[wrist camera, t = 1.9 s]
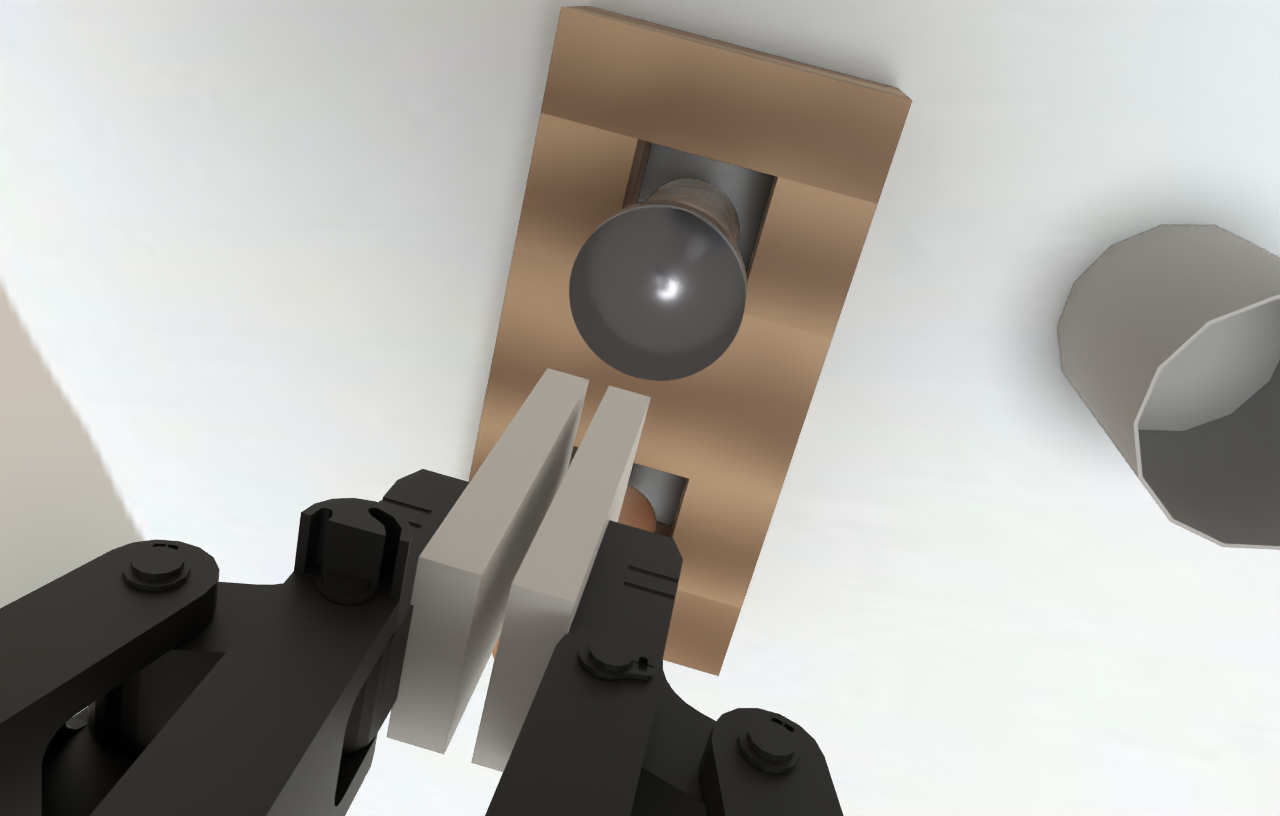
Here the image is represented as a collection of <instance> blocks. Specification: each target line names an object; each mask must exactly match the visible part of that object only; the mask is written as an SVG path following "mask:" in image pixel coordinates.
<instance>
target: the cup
mask: <svg viewBox="0 0 1280 816" xmlns="http://www.w3.org/2000/svg"><path fill="white" fill-rule="evenodd" d="M1057 333H1058V342H1059V350H1060V359H1061V368H1062V372H1063V373H1064V375H1065V376H1066V378H1067V379H1068V380H1069V382H1070V383H1071V385H1072V386H1073V387H1074V389H1075V390H1076V392H1077V393H1078V394H1079V396H1080V397H1081V399H1082V400H1083V401H1084V403H1085V404H1086V406H1087V407H1088V408H1089V410H1090V411H1091V413H1092V414H1093V415H1094V417H1095V418H1096V420H1097V421H1098V422H1099V424H1100V425H1101V427H1102V428H1103V429H1104V431H1105V432H1106V434H1107V435H1108V436H1109V438H1110V439H1111V441H1112V442H1113V443H1114V445H1115V446H1116V448H1117V449H1118V450H1119V452H1120V453H1121V455H1122V456H1123V457H1124V459H1125V460H1126V462H1127V463H1128V464H1129V466H1130V467H1131V469H1132V470H1133V471H1134V473H1135V474H1136V476H1137V477H1138V478H1139V480H1140V481H1141V482H1142V484H1143V485H1144V487H1145V488H1146V489H1147V491H1148V492H1149V493H1150V495H1151V496H1152V497H1153V499H1154V500H1155V501H1156V503H1157V504H1158V506H1159V507H1160V508H1161V510H1162V511H1163V512H1164V514H1165V515H1166V516H1167V518H1168V519H1169V521H1170V522H1172V523H1174V524H1176V525H1178V526H1180V527H1182V528H1184V529H1187V530H1189V531H1191V532H1193V533H1195V534H1197V535H1199V536H1201V537H1203V538H1205V539H1207V540H1209V541H1211V542H1214V543H1216V544H1218V545H1220V546H1222V547H1234V548H1256V549H1277V550H1280V258H1279V257H1277V256H1276V255H1274V254H1272V253H1270V252H1268V251H1266V250H1264V249H1262V248H1261V247H1259V246H1257V245H1255V244H1253V243H1251V242H1249V241H1247V240H1244V239H1242V238H1240V237H1238V236H1236V235H1234V234H1232V233H1230V232H1228V231H1226V230H1224V229H1222V228H1220V227H1218V226H1216V225H1160V226H1157V227H1155V228H1153V229H1150V230H1148V231H1145V232H1143V233H1140V234H1138V235H1136V236H1133V237H1131V238H1128V239H1126V240H1124V241H1121V242H1119V243H1116V244H1114V245H1112V246H1110V247H1109V248H1108V249H1107V250H1106V251H1105V252H1104V253H1103V254H1102V255H1101V256H1100V257H1099V258H1098V259H1097V260H1096V261H1095V262H1094V263H1093V264H1092V265H1091V266H1090V267H1089V268H1088V269H1087V270H1086V271H1085V272H1084V273H1083V274H1082V275H1081V276H1080V277H1079V278H1078V279H1077V280H1076V281H1075V282H1074V284H1073V287H1072V289H1071V292H1070V294H1069V297H1068V300H1067V302H1066V305H1065V307H1064V310H1063V313H1062V315H1061V318H1060V321H1059V323H1058V326H1057Z"/></svg>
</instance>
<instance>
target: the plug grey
mask: <svg viewBox="0 0 1280 816" xmlns="http://www.w3.org/2000/svg"><path fill="white" fill-rule="evenodd" d="M739 235H740V225H739V219H738V215H737V212H736V210H735V208H734V206H733V204H732V202H731V201H730V199H729V198H728V197H727V196H726V195H725V194H724V193H723V192H722V191H721V190H720V189H718V188H717V187H715V186H714V185H712V184H710V183H708V182H705V181H702V180H698V179H690V178H686V179H678V180H673V181H670V182H668V183H666V184H664V185H662V186H660V187H659V188H657V189H656V190H655V191H654V192H653V193H652V194H651V195H650V196H649V197H648V198H647V199H646V201H645V202H640V203H636V204H634V205H631V206H628V207H626V208H624V209H622V210H620V211H618V212H616V213H615V214H613V215H612V216H610V217H609V218H607V219H606V220H605V221H604V222H603V223H602V224H601V225H600V226H599V227H598V228H597V229H596V230H595V231H594V233H593V234H592V235H591V236H590V237H589V238H588V240H587V241H586V242H585V243H584V245H583V246H582V248H581V250H580V251H579V253H578V255H577V257H576V260H575V262H574V265H573V268H572V271H571V276H570V283H569V300H570V308H571V312H572V316H573V319H574V322H575V324H576V327H577V329H578V331H579V333H580V335H581V336H582V338H583V340H584V341H585V342H586V344H587V345H588V347H589V348H590V349H591V350H592V351H593V352H594V353H595V354H596V355H597V356H598V357H599V358H600V359H601V360H603V361H604V362H605V363H606V364H608V365H610V366H611V367H613V368H614V369H616V370H618V371H620V372H622V373H624V374H627V375H630V376H632V377H635V378H640V379H645V380H653V381H669V380H675V379H681V378H684V377H687V376H691V375H693V374H695V373H697V372H700V371H702V370H703V369H705V368H707V367H708V366H710V365H711V364H712V363H714V362H715V361H716V360H717V359H719V358H720V356H721V355H722V354H723V353H724V352H725V351H726V350H727V349H728V347H729V346H730V345H731V343H732V342H733V340H734V338H735V336H736V334H737V333H738V330H739V328H740V325H741V322H742V319H743V314H744V309H745V304H746V297H747V275H746V269H745V265H744V261H743V258H742V255H741V253H740V251H739V249H738V247H737V246H738V241H739Z"/></svg>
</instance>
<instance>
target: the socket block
mask: <svg viewBox="0 0 1280 816" xmlns="http://www.w3.org/2000/svg"><path fill="white" fill-rule="evenodd" d="M911 103H912V100H911V99H910V98H909V97H908V96H907V95H905V94H904V93H903V92H902V91H901V90H900V89H898V88H895V87H891V86H887V85H883V84H880V83H876V82H872V81H868V80H865V79H861V78H857V77H853V76H850V75H846V74H842V73H838V72H835V71H831V70H827V69H823V68H820V67H816V66H812V65H808V64H804V63H801V62H797V61H793V60H789V59H786V58H782V57H778V56H774V55H771V54H767V53H763V52H759V51H756V50H752V49H748V48H744V47H741V46H737V45H733V44H729V43H726V42H722V41H718V40H714V39H710V38H707V37H703V36H699V35H695V34H692V33H688V32H684V31H680V30H677V29H673V28H669V27H665V26H662V25H658V24H654V23H650V22H647V21H643V20H639V19H635V18H632V17H628V16H624V15H620V14H617V13H613V12H609V11H605V10H601V9H598V8H594V7H590V6H583V7H561V11H560V16H559V21H558V26H557V32H556V37H555V42H554V47H553V52H552V57H551V62H550V67H549V73H548V78H547V83H546V88H545V93H544V98H543V103H542V108H541V114H540V119H539V124H538V129H537V134H536V139H535V144H534V149H533V155H532V160H531V165H530V170H529V175H528V180H527V185H526V190H525V195H524V201H523V206H522V211H521V216H520V221H519V226H518V231H517V236H516V242H515V247H514V252H513V257H512V262H511V267H510V272H509V277H508V283H507V288H506V293H505V298H504V303H503V308H502V313H501V318H500V324H499V329H498V334H497V339H496V344H495V349H494V354H493V359H492V364H491V370H490V375H489V380H488V385H487V390H486V395H485V400H484V405H483V411H482V416H481V421H480V426H479V431H478V436H477V441H476V446H475V452H474V457H473V462H472V467H471V472H470V477H469V482H470V481H471V480H472V478H473V477H474V475H475V474H476V472H477V471H478V469H479V468H480V466H481V465H482V464H483V462H484V461H485V459H486V458H487V456H488V455H489V453H490V452H491V450H492V449H493V447H494V446H495V444H496V443H497V442H498V440H499V439H500V437H501V436H502V434H503V433H504V431H505V430H506V428H507V427H508V425H509V424H510V423H511V421H512V420H513V418H514V417H515V415H516V414H517V412H518V411H519V409H520V408H521V406H522V405H523V403H524V402H525V401H526V399H527V398H528V396H529V395H530V393H531V392H532V390H533V389H534V387H535V386H536V384H537V383H538V381H539V380H540V379H541V377H542V376H543V374H544V373H545V371H546V370H547V368H549V369H553V370H556V371H560V372H563V373H567V374H570V375H574V376H577V377H581V378H584V379H588V380H589V383H588V387H587V391H586V395H585V400H584V404H583V408H582V412H581V416H580V421H579V425H578V429H577V433H576V437H575V442H574V446H573V450H572V454H571V458H570V462H569V466H570V464H571V462H572V460H573V458H574V456H575V454H576V452H577V450H578V447H579V446H580V444H581V442H582V440H583V438H584V436H585V433H586V431H587V429H588V427H589V425H590V423H591V421H592V419H593V417H594V415H595V413H596V411H597V409H598V407H599V405H600V403H601V401H602V399H603V397H604V395H605V393H606V391H607V389H608V387H609V386H613V387H616V388H620V389H624V390H627V391H631V392H634V393H638V394H641V395H645V396H648V397H651V399H650V403H649V406H648V410H647V414H646V417H645V421H644V425H643V429H642V432H641V436H640V440H639V444H638V447H637V451H636V455H635V459H634V462H633V463H635V464H639V465H642V466H646V467H649V468H653V469H656V470H660V471H663V472H667V473H671V474H674V475H678V476H681V477H685V478H686V481H685V485H684V488H683V492H682V495H681V498H680V502H679V505H678V509H677V512H676V515H675V519H674V522H673V526H670V525H666V524H663V523H659V522H656V532H655V533H656V534H660V535H663V536H667V537H670V538H673V539H674V541H675V543H676V545H677V547H678V550H679V552H680V554H681V556H682V558H683V563H682V568H681V573H680V578H679V582H678V587H677V592H676V597H675V602H674V607H673V612H672V617H671V621H670V626H669V631H668V636H667V641H666V646H665V651H664V656H663V660H666V661H669V662H672V663H676V664H679V665H683V666H686V667H689V668H693V669H696V670H700V671H703V672H707V673H710V674H713V675H717V676H719V673H720V670H721V667H722V664H723V661H724V658H725V655H726V652H727V649H728V646H729V643H730V640H731V637H732V634H733V631H734V628H735V625H736V622H737V619H738V616H739V613H740V610H741V607H742V605H743V602H744V599H745V596H746V593H747V590H748V587H749V584H750V581H751V578H752V575H753V572H754V569H755V566H756V563H757V560H758V557H759V554H760V551H761V548H762V545H763V542H764V539H765V536H766V533H767V530H768V527H769V524H770V521H771V518H772V515H773V512H774V510H775V507H776V504H777V501H778V498H779V495H780V492H781V489H782V486H783V483H784V480H785V477H786V474H787V471H788V468H789V465H790V462H791V459H792V456H793V453H794V450H795V447H796V444H797V441H798V438H799V435H800V432H801V429H802V426H803V423H804V420H805V417H806V415H807V412H808V409H809V406H810V403H811V400H812V397H813V394H814V391H815V388H816V385H817V382H818V379H819V376H820V373H821V370H822V367H823V364H824V361H825V358H826V355H827V352H828V349H829V346H830V343H831V340H832V337H833V334H834V331H835V328H836V325H837V322H838V320H839V317H840V314H841V311H842V308H843V305H844V302H845V299H846V296H847V293H848V290H849V287H850V284H851V281H852V278H853V275H854V272H855V269H856V266H857V263H858V260H859V257H860V254H861V251H862V248H863V245H864V242H865V239H866V236H867V233H868V230H869V227H870V225H871V222H872V219H873V216H874V213H875V210H876V207H877V204H878V201H879V198H880V195H881V192H882V189H883V186H884V183H885V180H886V177H887V174H888V171H889V168H890V165H891V162H892V159H893V156H894V153H895V150H896V147H897V144H898V141H899V138H900V135H901V132H902V130H903V127H904V124H905V121H906V118H907V115H908V112H909V109H910V106H911ZM652 143H655V144H658V145H662V146H666V147H669V148H673V149H677V150H680V151H684V152H688V153H692V154H695V155H699V156H703V157H706V158H710V159H714V160H717V161H721V162H725V163H728V164H732V165H736V166H740V167H743V168H747V169H751V170H754V171H758V172H762V173H765V174H769V175H773V176H775V177H774V181H773V184H772V187H771V191H770V194H769V198H768V201H767V204H766V208H765V211H764V215H763V218H762V222H761V225H760V228H759V232H758V235H757V239H756V242H755V245H754V249H753V252H752V256H751V259H750V263H749V266H748V269H747V273H746V275H747V297H746V304H745V309H744V314H743V319H742V322H741V325H740V328H739V330H738V333H737V334H736V336H735V338H734V340H733V342H732V343H731V345H730V346H729V347H728V349H727V350H726V351H725V352H724V353H723V354H722V355H721V356H720V358H719V359H717V360H716V361H715V362H714V363H712V364H711V365H710V366H708V367H707V368H705V369H703V370H702V371H700V372H697V373H695V374H693V375H691V376H687V377H684V378H681V379H675V380H669V381H653V380H645V379H640V378H635V377H632V376H630V375H627V374H624V373H622V372H620V371H618V370H616V369H614V368H613V367H611V366H610V365H608V364H606V363H605V362H604V361H603V360H601V359H600V358H599V357H598V356H597V355H596V354H595V353H594V352H593V351H592V350H591V349H590V348H589V347H588V345H587V344H586V342H585V341H584V340H583V338H582V336H581V335H580V333H579V331H578V329H577V327H576V324H575V322H574V319H573V316H572V312H571V308H570V300H569V283H570V276H571V271H572V268H573V265H574V262H575V260H576V257H577V255H578V253H579V251H580V250H581V248H582V246H583V245H584V243H585V242H586V241H587V240H588V238H589V237H590V236H591V235H592V234H593V233H594V231H595V230H596V229H597V228H598V227H599V226H600V225H601V224H602V223H603V222H604V221H605V220H606V219H607V218H609V217H610V216H612V215H613V214H615V213H616V212H618V211H620V210H622V209H624V208H626V207H628V206H631V205H634V204H636V203H637V202H638V198H639V194H640V189H641V185H642V181H643V177H644V173H645V169H646V164H647V160H648V156H649V152H650V148H651V144H652ZM568 468H569V467H568Z"/></svg>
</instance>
